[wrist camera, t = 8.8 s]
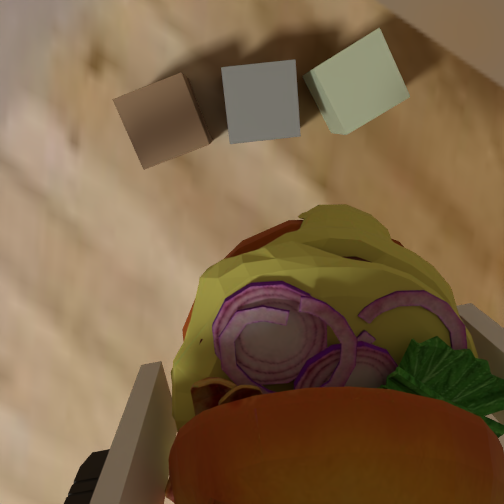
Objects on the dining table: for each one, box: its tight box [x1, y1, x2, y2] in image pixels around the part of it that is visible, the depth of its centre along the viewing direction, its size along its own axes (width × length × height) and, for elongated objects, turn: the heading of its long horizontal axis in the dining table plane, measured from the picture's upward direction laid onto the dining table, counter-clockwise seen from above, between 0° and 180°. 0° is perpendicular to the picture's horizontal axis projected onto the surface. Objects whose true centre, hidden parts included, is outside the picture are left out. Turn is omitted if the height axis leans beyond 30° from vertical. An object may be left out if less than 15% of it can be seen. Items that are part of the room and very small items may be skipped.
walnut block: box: [113, 72, 212, 169], centre depth 32 cm, size 5×5×5 cm
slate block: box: [221, 59, 301, 144], centre depth 32 cm, size 5×5×5 cm
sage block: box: [302, 27, 410, 135], centre depth 32 cm, size 5×5×5 cm
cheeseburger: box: [165, 204, 504, 504], centre depth 13 cm, size 10×11×10 cm
